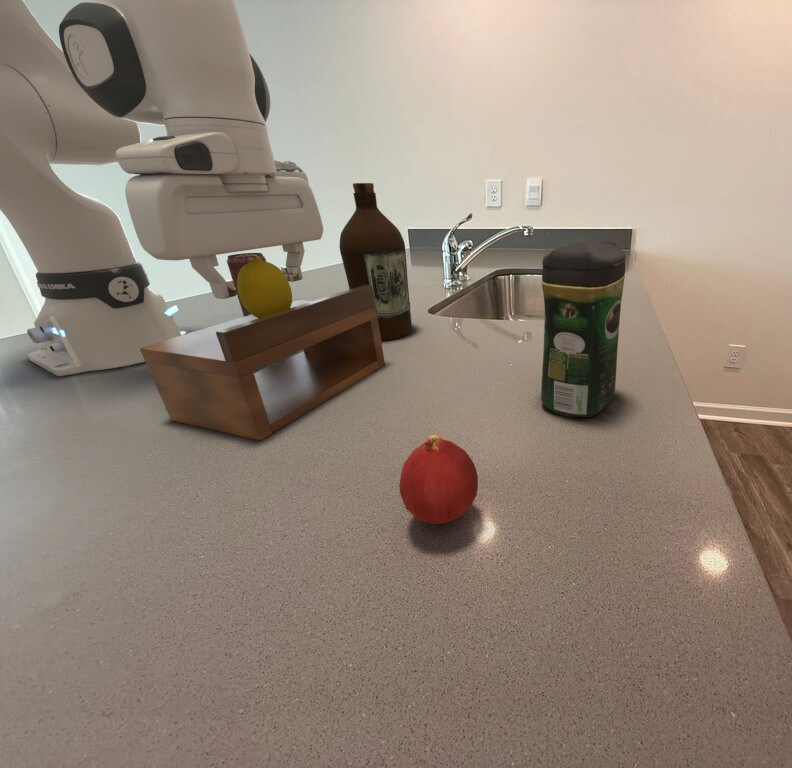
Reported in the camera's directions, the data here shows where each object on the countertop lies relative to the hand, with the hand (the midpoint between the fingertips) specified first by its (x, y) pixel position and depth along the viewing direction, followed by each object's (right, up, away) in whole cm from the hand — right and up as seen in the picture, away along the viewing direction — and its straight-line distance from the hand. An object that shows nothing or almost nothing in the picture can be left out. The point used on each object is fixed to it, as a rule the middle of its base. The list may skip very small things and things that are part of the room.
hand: (262, 288), depth 49 cm
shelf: (0, -12, +6) cm, 13 cm away
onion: (+25, -22, -17) cm, 37 cm away
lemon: (0, -4, +2) cm, 5 cm away
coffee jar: (+38, -14, +1) cm, 40 cm away
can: (-18, -1, +31) cm, 36 cm away
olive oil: (+7, -2, +27) cm, 28 cm away
